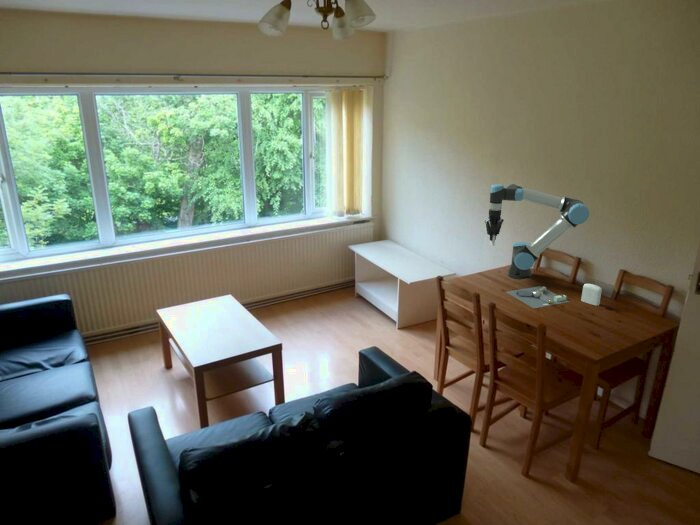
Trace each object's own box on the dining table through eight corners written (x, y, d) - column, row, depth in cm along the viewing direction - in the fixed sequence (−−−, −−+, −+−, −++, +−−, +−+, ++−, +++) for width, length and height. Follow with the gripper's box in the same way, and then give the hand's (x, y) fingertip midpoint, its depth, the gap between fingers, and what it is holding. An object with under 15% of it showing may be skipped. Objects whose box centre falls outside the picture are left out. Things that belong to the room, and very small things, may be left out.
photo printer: (579, 302, 294) (582, 283, 290) (583, 300, 296) (586, 281, 292) (596, 308, 286) (600, 288, 282) (600, 306, 289) (603, 286, 285)
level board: (539, 287, 316) (540, 281, 314) (569, 303, 293) (570, 296, 291) (505, 293, 308) (506, 286, 306) (533, 310, 284) (534, 302, 283)
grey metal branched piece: (513, 288, 312) (514, 283, 311) (545, 290, 308) (546, 285, 307) (518, 302, 292) (518, 297, 291) (552, 304, 288) (552, 299, 287)
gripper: (500, 207, 319) (497, 242, 327) (482, 208, 315) (480, 244, 322) (507, 209, 312) (504, 245, 320) (489, 211, 308) (486, 247, 316)
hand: (492, 245), depth 321 cm, fingers closed
